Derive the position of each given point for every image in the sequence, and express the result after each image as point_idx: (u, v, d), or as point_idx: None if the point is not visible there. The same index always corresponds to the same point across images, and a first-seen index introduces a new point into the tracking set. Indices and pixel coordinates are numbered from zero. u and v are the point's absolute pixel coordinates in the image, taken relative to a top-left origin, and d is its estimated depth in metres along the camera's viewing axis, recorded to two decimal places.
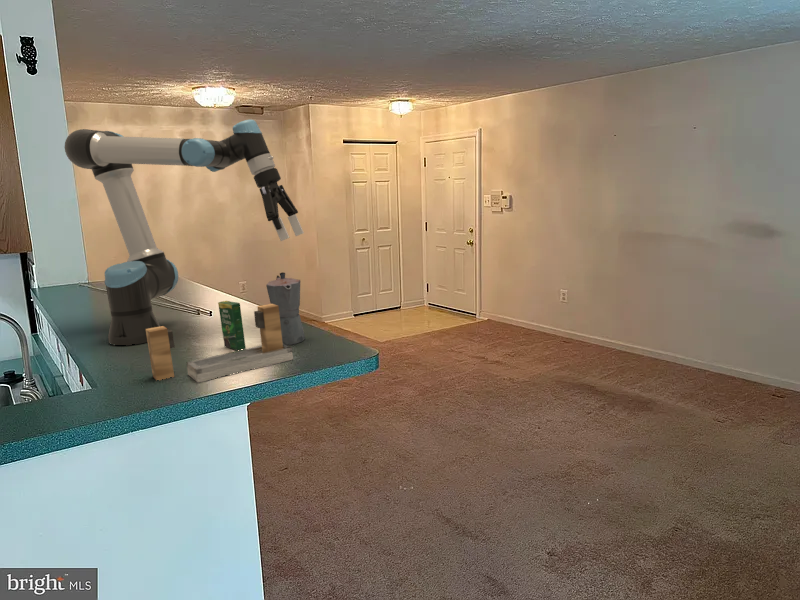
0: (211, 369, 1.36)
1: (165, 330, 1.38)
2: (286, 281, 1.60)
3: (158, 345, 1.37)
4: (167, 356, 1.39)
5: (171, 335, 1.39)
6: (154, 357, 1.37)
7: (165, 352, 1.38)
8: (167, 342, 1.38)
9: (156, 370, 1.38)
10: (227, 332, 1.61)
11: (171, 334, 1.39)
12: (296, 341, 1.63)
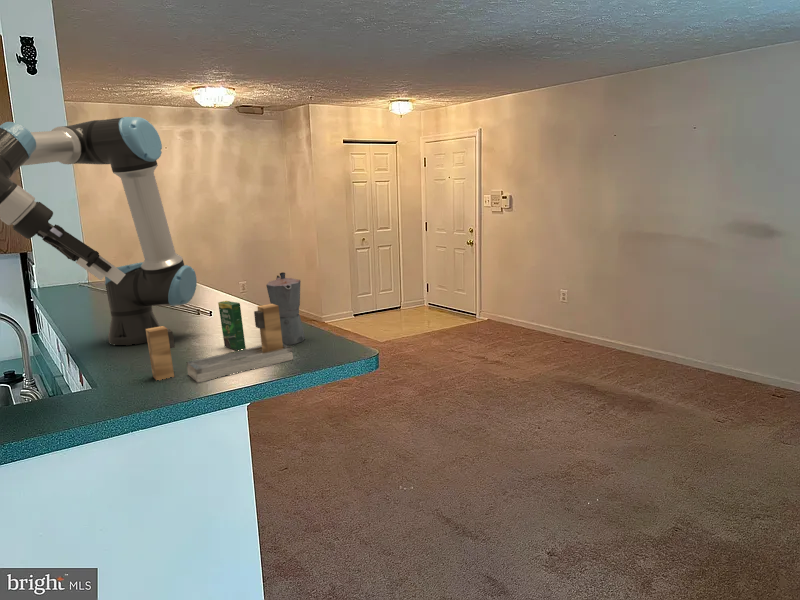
0: (211, 369, 1.36)
1: (165, 330, 1.38)
2: (286, 281, 1.60)
3: (158, 345, 1.37)
4: (167, 356, 1.39)
5: (171, 335, 1.39)
6: (154, 357, 1.37)
7: (165, 352, 1.38)
8: (167, 342, 1.38)
9: (156, 370, 1.38)
10: (227, 332, 1.61)
11: (171, 334, 1.39)
12: (296, 341, 1.63)
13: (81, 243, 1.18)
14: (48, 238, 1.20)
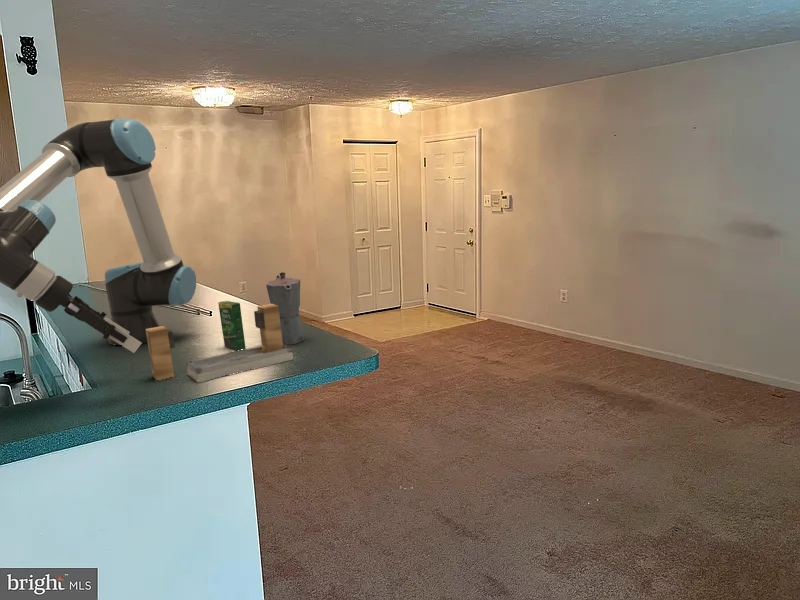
0: (211, 369, 1.36)
1: (165, 330, 1.38)
2: (286, 281, 1.60)
3: (158, 345, 1.37)
4: (167, 356, 1.39)
5: (171, 335, 1.39)
6: (154, 357, 1.37)
7: (165, 352, 1.38)
8: (167, 342, 1.38)
9: (156, 370, 1.38)
10: (227, 332, 1.61)
11: (171, 334, 1.39)
12: (296, 341, 1.63)
13: (97, 318, 1.22)
14: None
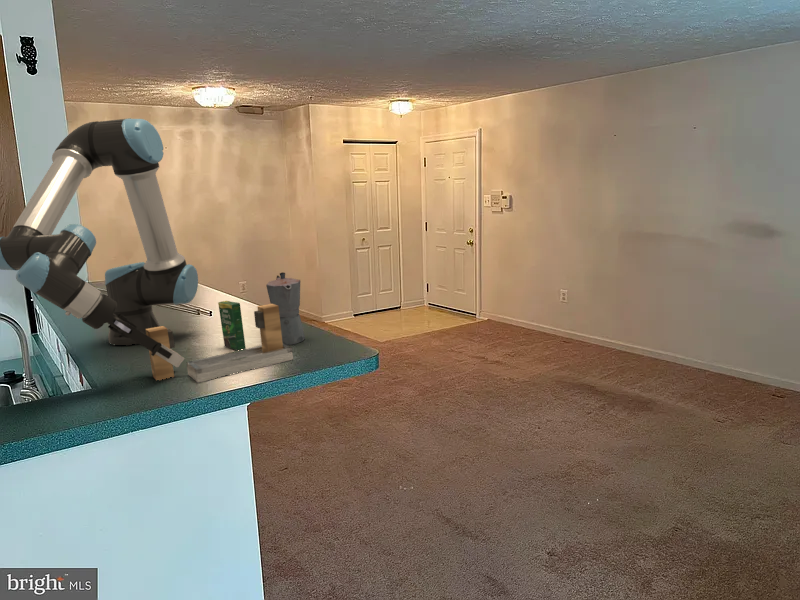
0: (211, 369, 1.36)
1: (165, 330, 1.38)
2: (286, 281, 1.60)
3: None
4: None
5: (171, 335, 1.39)
6: (154, 357, 1.37)
7: None
8: (167, 342, 1.38)
9: (156, 370, 1.38)
10: (227, 332, 1.61)
11: (171, 334, 1.39)
12: (296, 341, 1.63)
13: (147, 337, 1.32)
14: (114, 328, 1.31)
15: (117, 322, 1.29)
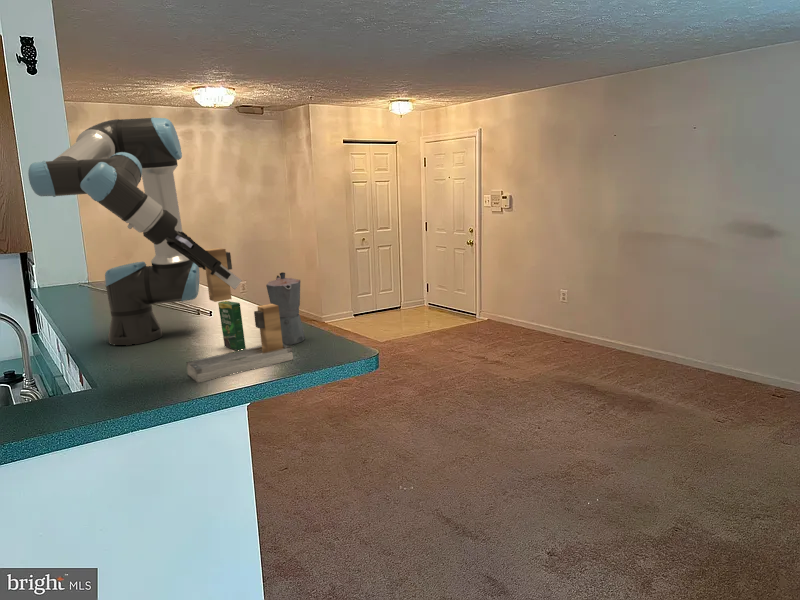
0: (211, 369, 1.36)
1: (223, 250, 1.36)
2: (286, 281, 1.59)
3: None
4: None
5: (229, 256, 1.38)
6: (212, 277, 1.35)
7: None
8: (225, 263, 1.37)
9: (214, 291, 1.36)
10: (227, 332, 1.61)
11: (229, 255, 1.37)
12: (296, 341, 1.63)
13: (208, 254, 1.30)
14: (175, 245, 1.30)
15: (179, 237, 1.28)
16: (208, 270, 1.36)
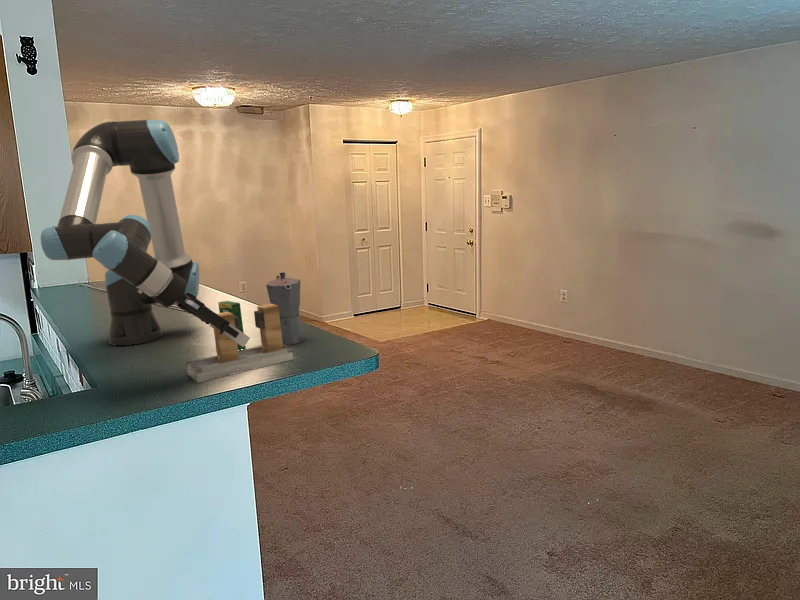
0: (211, 369, 1.36)
1: (232, 315, 1.39)
2: (286, 281, 1.60)
3: None
4: (233, 342, 1.40)
5: (237, 320, 1.41)
6: (221, 342, 1.39)
7: None
8: None
9: (223, 355, 1.39)
10: None
11: (237, 319, 1.41)
12: (296, 341, 1.63)
13: (216, 315, 1.32)
14: (183, 306, 1.33)
15: (187, 300, 1.31)
16: (217, 335, 1.40)
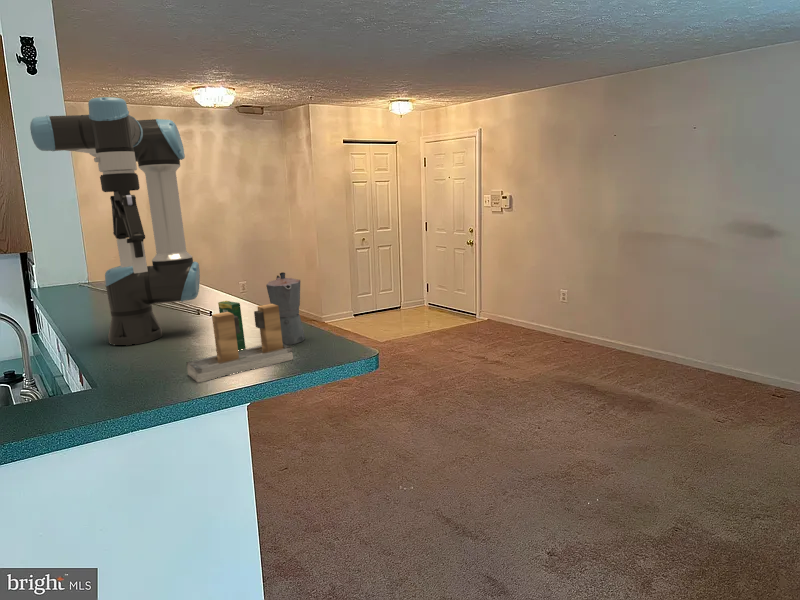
0: (211, 369, 1.36)
1: (232, 315, 1.39)
2: (286, 281, 1.60)
3: (225, 331, 1.39)
4: (233, 342, 1.40)
5: (237, 320, 1.41)
6: (221, 342, 1.39)
7: (231, 337, 1.40)
8: (233, 327, 1.40)
9: (223, 355, 1.39)
10: None
11: (237, 319, 1.41)
12: (296, 341, 1.63)
13: (139, 221, 1.22)
14: (117, 202, 1.25)
15: None
16: (217, 335, 1.40)
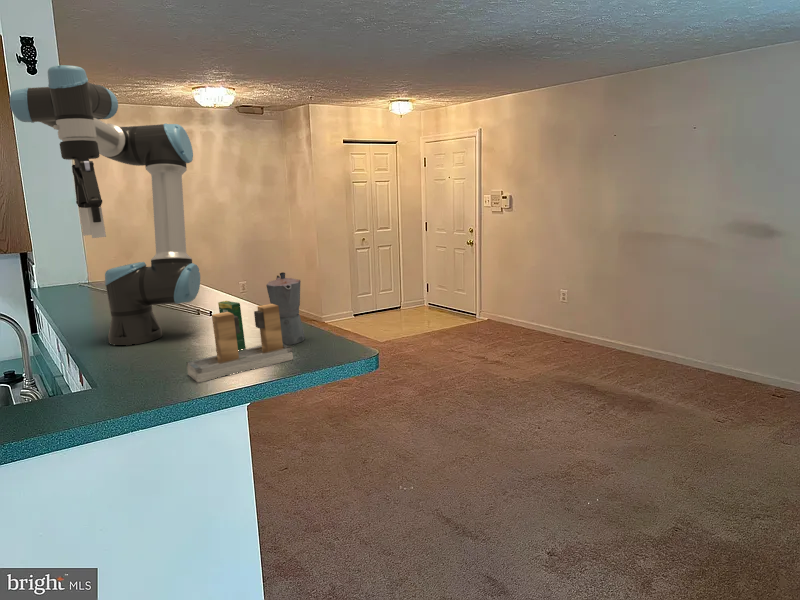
0: (211, 369, 1.36)
1: (232, 315, 1.39)
2: (286, 281, 1.59)
3: (225, 331, 1.39)
4: (233, 342, 1.40)
5: (237, 320, 1.41)
6: (221, 342, 1.39)
7: (231, 337, 1.40)
8: (233, 327, 1.40)
9: (223, 355, 1.39)
10: None
11: (237, 319, 1.41)
12: (296, 341, 1.63)
13: (96, 186, 1.25)
14: (77, 168, 1.28)
15: None
16: (217, 335, 1.40)
